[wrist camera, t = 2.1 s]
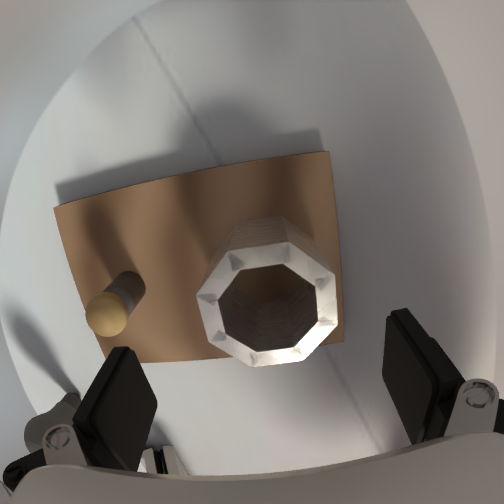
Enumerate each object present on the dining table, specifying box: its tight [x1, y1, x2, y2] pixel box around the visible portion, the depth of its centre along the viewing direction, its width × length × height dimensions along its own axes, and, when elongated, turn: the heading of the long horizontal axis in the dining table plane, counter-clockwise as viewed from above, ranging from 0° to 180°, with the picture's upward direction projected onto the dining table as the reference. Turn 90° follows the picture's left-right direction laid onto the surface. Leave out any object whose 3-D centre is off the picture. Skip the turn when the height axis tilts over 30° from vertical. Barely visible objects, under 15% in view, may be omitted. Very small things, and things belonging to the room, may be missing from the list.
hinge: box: [140, 445, 189, 475], centre depth 29 cm, size 17×5×10 cm, turn 8°
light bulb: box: [24, 393, 82, 453], centre depth 24 cm, size 6×6×10 cm
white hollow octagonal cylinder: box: [196, 215, 338, 367], centre depth 18 cm, size 7×7×6 cm
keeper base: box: [53, 151, 344, 363], centre depth 20 cm, size 20×14×7 cm
